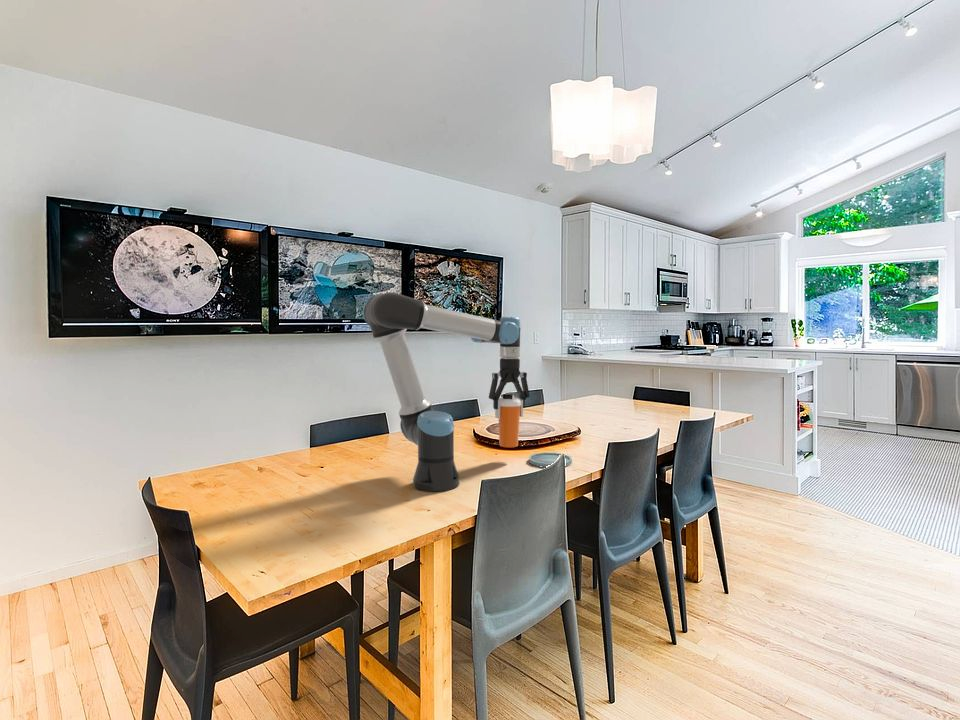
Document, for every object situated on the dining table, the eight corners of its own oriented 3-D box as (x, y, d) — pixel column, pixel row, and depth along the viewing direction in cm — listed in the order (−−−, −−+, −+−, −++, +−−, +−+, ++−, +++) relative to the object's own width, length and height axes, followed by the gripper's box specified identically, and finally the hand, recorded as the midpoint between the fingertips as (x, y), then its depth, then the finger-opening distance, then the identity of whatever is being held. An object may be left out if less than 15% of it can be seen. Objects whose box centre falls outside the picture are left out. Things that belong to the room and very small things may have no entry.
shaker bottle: (520, 443, 199) (521, 392, 198) (520, 448, 190) (520, 395, 189) (497, 442, 200) (498, 391, 199) (496, 447, 191) (496, 394, 190)
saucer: (542, 470, 183) (542, 465, 183) (521, 459, 198) (521, 455, 198) (580, 464, 190) (580, 460, 190) (556, 454, 204) (556, 450, 204)
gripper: (488, 359, 185) (487, 420, 187) (539, 358, 194) (538, 416, 195) (479, 357, 192) (479, 417, 193) (530, 356, 201) (529, 413, 202)
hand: (509, 416), depth 194 cm, fingers closed on shaker bottle, 9 cm apart
